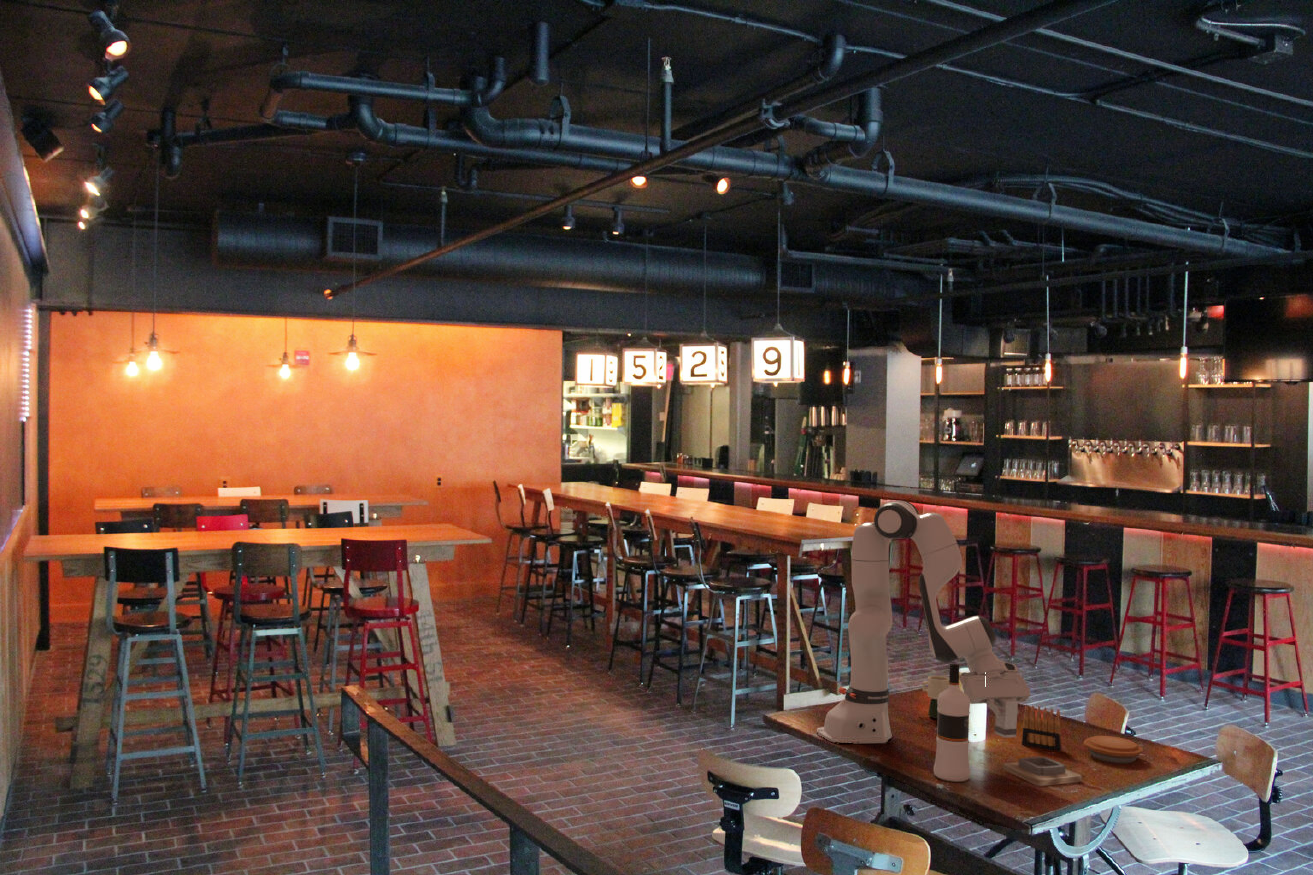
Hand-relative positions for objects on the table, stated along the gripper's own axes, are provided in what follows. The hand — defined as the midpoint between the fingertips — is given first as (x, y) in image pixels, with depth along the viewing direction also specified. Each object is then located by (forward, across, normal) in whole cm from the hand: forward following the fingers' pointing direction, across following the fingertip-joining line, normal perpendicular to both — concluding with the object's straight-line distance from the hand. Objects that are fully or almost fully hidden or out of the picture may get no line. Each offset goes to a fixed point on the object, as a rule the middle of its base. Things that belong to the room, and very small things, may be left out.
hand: (1007, 714), depth 280 cm
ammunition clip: (+4, +19, +14) cm, 24 cm away
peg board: (+19, 0, -1) cm, 19 cm away
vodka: (+15, -24, +3) cm, 29 cm away
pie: (+13, +32, +4) cm, 35 cm away
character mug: (-20, +8, +39) cm, 45 cm away
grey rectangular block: (+4, 0, +5) cm, 6 cm away
